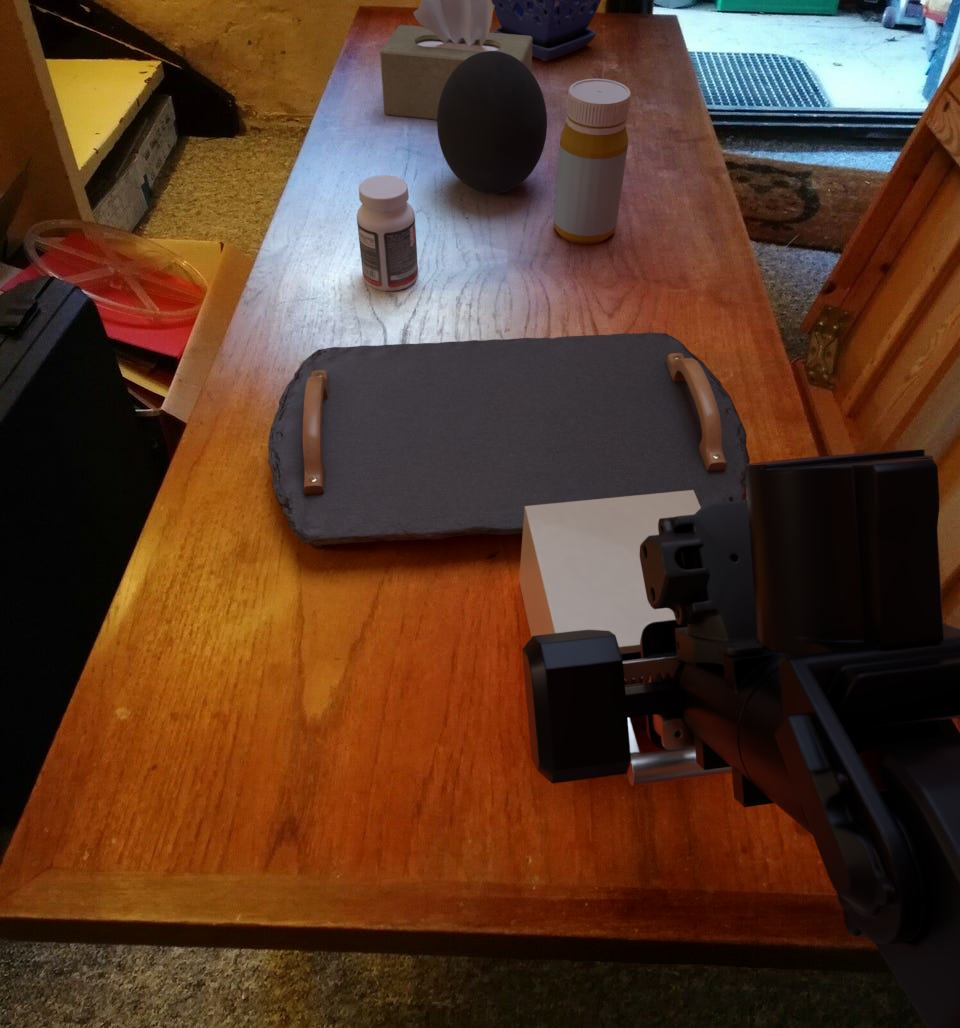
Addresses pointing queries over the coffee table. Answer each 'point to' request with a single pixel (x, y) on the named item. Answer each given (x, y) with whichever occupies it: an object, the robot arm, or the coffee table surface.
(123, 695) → the coffee table surface
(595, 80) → the bottle
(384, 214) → the pill bottle
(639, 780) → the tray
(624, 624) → the grey drawer unit
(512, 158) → the decorative egg
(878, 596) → the robot arm
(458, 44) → the tissue box
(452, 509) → the serving tray
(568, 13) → the flower pot
